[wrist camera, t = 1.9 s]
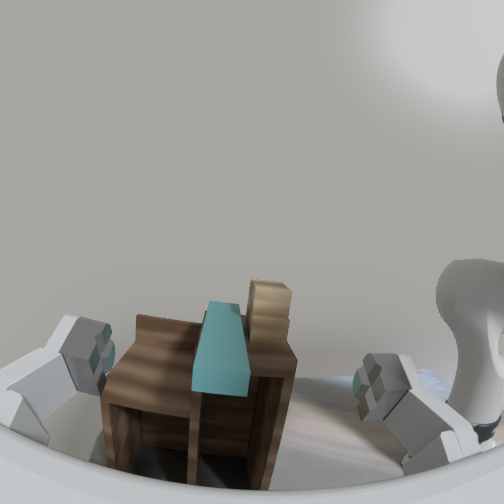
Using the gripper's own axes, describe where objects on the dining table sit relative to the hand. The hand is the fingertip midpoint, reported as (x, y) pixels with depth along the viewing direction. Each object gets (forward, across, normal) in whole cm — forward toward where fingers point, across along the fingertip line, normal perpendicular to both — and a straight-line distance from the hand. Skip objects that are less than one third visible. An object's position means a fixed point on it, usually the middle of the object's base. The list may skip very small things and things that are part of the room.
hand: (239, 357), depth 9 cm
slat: (+16, 0, +17) cm, 23 cm away
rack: (+9, +2, +42) cm, 43 cm away
